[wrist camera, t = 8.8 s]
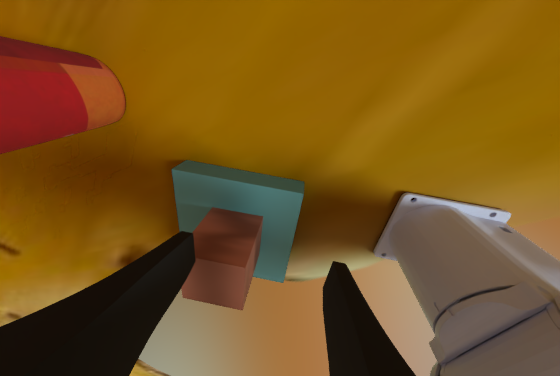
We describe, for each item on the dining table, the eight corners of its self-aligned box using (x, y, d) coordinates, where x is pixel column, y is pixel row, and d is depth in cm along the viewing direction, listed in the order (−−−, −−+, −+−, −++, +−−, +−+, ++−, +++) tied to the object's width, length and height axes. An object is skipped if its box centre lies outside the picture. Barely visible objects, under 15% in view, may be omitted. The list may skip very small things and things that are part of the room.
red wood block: (263, 216, 19) (245, 268, 13) (259, 254, 21) (242, 310, 16) (212, 207, 19) (175, 253, 14) (214, 245, 21) (182, 297, 16)
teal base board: (304, 179, 20) (303, 193, 17) (285, 262, 25) (283, 283, 23) (189, 158, 20) (171, 169, 18) (196, 244, 26) (183, 262, 23)
